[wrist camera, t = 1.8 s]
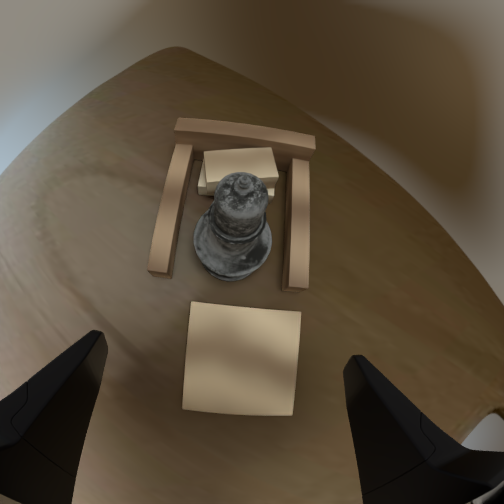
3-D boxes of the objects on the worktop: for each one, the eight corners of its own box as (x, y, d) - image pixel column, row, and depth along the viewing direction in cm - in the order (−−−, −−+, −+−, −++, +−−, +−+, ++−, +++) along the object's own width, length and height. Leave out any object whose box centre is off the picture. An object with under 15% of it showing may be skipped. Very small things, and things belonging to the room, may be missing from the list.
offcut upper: (273, 188, 24) (278, 176, 23) (207, 194, 23) (206, 182, 22) (267, 159, 25) (271, 147, 23) (204, 164, 24) (203, 151, 22)
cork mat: (289, 412, 20) (292, 415, 20) (183, 406, 20) (182, 409, 19) (298, 312, 23) (301, 311, 22) (192, 302, 22) (191, 301, 21)
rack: (299, 292, 24) (317, 283, 19) (153, 276, 22) (140, 263, 18) (301, 161, 28) (314, 136, 23) (181, 146, 26) (178, 117, 22)
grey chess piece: (201, 216, 24) (194, 125, 13) (265, 223, 25) (305, 140, 14) (192, 280, 23) (170, 229, 11) (261, 288, 23) (306, 244, 12)
